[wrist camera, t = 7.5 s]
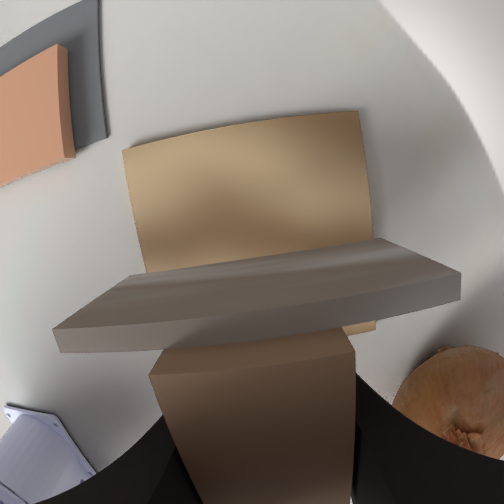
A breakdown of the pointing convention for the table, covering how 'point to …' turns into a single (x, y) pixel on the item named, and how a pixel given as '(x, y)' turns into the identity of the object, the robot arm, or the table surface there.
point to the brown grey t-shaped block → (261, 359)
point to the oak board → (251, 192)
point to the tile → (35, 116)
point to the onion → (458, 398)
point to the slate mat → (69, 63)
